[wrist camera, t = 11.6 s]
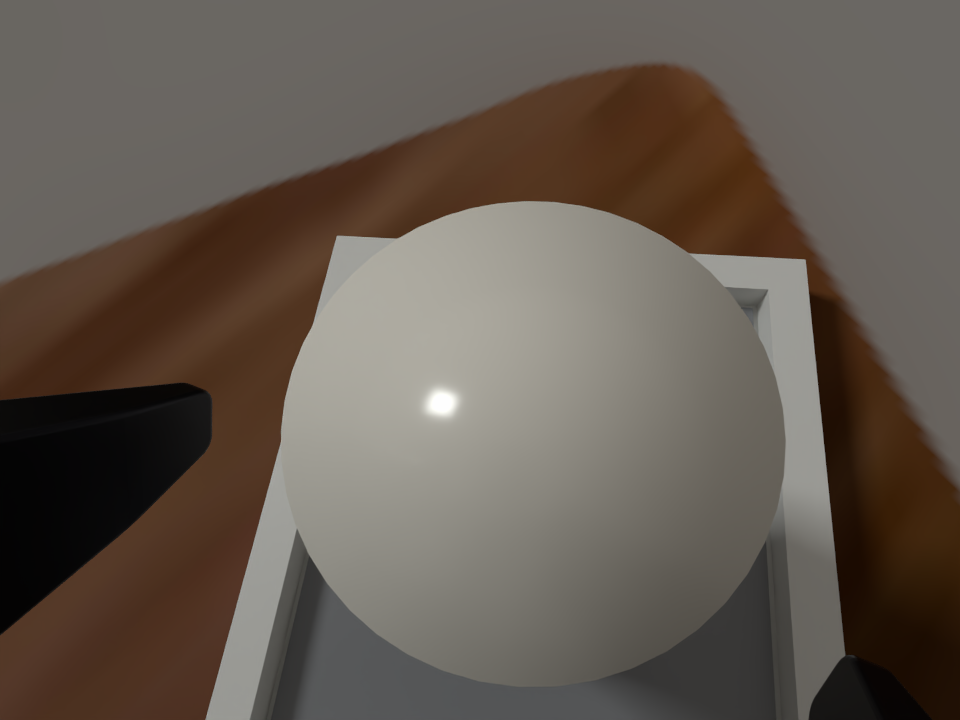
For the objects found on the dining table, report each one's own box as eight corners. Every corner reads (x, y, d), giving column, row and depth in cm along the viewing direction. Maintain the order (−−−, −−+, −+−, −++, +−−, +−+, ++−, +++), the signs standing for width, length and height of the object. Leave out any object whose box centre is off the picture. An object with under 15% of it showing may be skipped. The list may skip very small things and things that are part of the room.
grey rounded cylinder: (550, 682, 15) (574, 839, 5) (391, 533, 17) (184, 440, 7) (675, 505, 17) (882, 365, 7) (516, 386, 19) (490, 136, 9)
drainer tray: (842, 962, 13) (880, 1006, 12) (206, 823, 15) (170, 846, 14) (786, 285, 20) (805, 259, 18) (350, 260, 22) (337, 235, 21)
